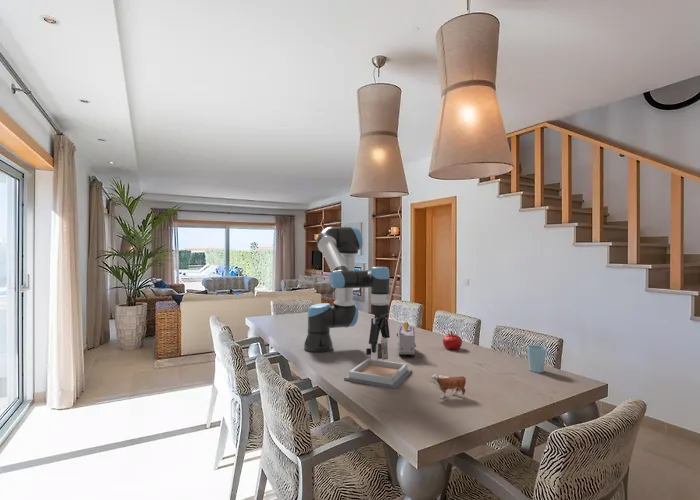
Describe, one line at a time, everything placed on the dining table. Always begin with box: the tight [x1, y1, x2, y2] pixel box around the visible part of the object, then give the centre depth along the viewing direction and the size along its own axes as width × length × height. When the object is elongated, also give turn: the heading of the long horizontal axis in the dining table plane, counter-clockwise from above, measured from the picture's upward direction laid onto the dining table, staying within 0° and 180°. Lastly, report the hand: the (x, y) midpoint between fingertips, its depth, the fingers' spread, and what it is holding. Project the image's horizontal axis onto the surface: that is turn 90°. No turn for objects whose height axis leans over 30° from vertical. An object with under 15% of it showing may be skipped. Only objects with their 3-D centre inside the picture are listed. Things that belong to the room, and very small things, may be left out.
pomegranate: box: [442, 330, 463, 350], centre depth 204 cm, size 10×10×9 cm
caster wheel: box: [365, 342, 389, 361], centre depth 158 cm, size 7×11×10 cm
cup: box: [526, 344, 547, 374], centre depth 168 cm, size 8×8×10 cm
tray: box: [343, 358, 413, 390], centre depth 158 cm, size 22×22×4 cm
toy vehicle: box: [396, 321, 417, 357], centre depth 194 cm, size 9×20×15 cm, turn 174°
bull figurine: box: [428, 373, 466, 400], centre depth 136 cm, size 4×13×8 cm, turn 94°
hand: (379, 356), depth 158 cm, fingers closed on caster wheel, 11 cm apart
